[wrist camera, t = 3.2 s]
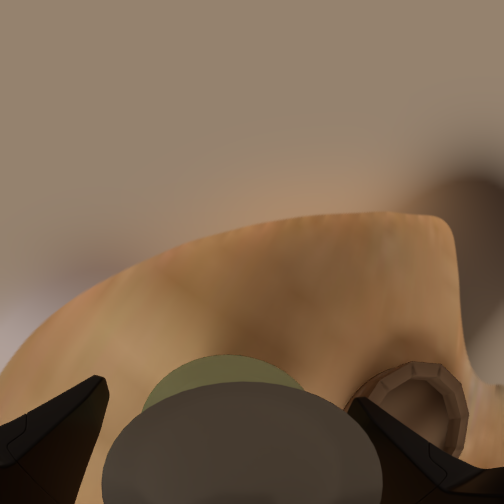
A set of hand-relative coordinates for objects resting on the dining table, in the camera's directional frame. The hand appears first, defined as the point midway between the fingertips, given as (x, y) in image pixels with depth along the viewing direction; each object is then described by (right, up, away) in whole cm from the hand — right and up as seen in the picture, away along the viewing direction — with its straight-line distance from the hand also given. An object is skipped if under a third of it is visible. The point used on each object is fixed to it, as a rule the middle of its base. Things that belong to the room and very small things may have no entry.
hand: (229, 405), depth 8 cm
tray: (+11, -8, +6) cm, 15 cm away
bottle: (-1, -5, +6) cm, 8 cm away
